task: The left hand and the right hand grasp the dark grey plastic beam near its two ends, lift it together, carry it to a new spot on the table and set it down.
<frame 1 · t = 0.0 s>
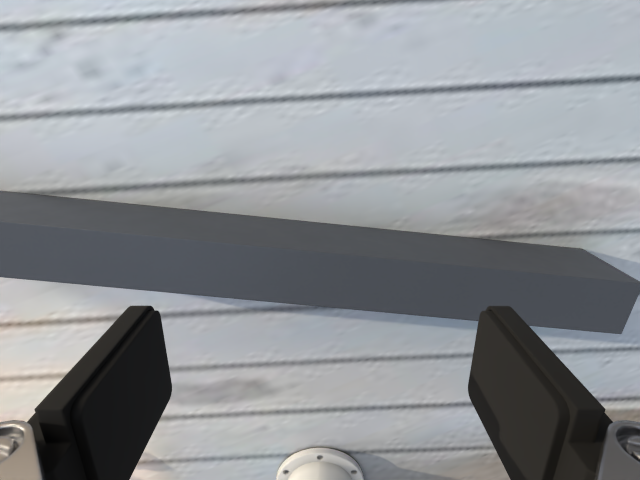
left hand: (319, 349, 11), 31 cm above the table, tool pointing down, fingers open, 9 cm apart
beam: (222, 236, 43), on the table
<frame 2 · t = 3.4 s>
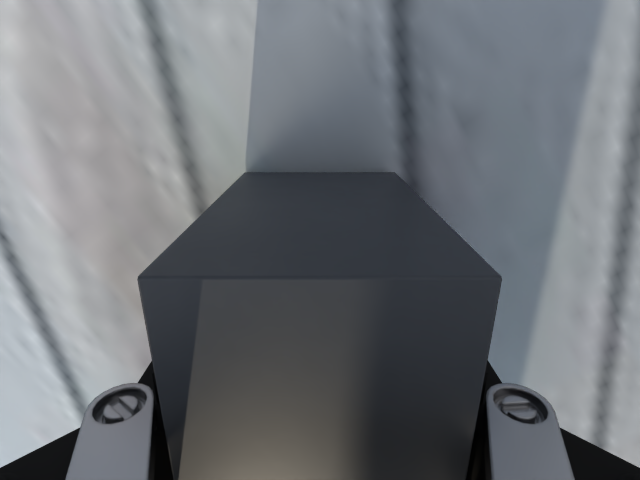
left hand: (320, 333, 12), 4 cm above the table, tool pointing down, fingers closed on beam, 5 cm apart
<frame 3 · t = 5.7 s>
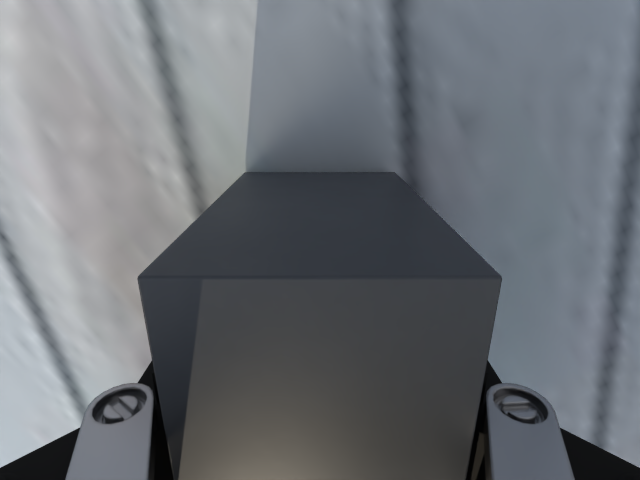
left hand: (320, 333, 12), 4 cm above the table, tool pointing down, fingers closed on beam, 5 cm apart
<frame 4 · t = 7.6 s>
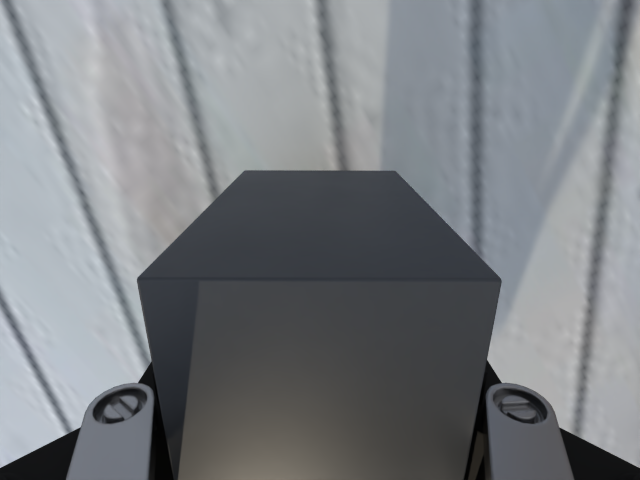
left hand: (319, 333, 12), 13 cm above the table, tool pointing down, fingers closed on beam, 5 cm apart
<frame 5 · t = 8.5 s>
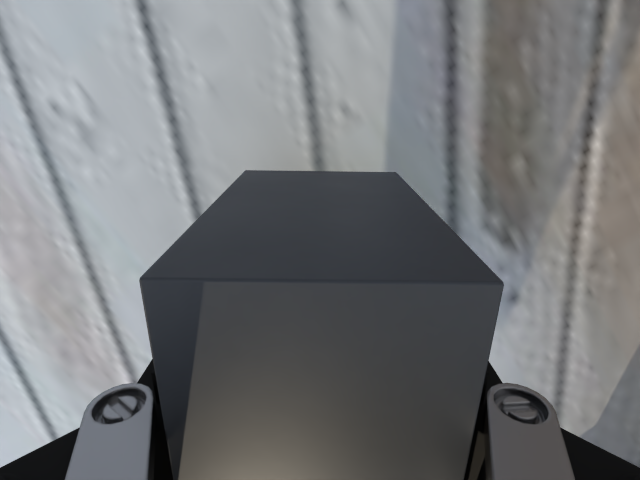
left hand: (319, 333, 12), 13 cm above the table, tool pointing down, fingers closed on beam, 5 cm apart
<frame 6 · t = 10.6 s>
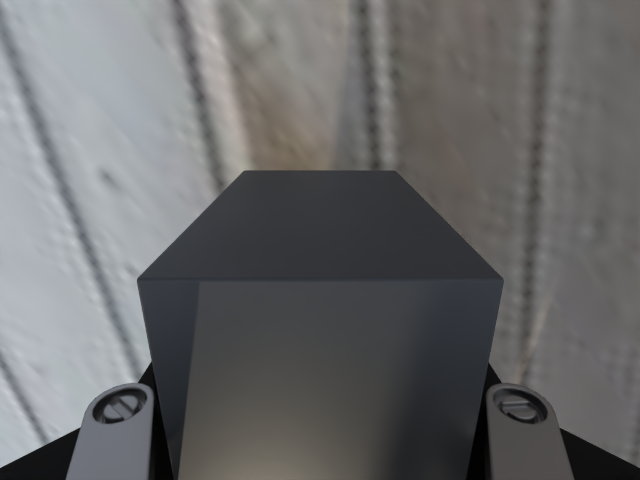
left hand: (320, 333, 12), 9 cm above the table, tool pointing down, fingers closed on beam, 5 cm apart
when the left hand's fingers open (4 cm above the table, at t = 11.7 s): beam stays where it is, on the table.
when the right hand's fingers open (4 cm above the table, at t = 11.8 s): beam stays where it is, on the table.
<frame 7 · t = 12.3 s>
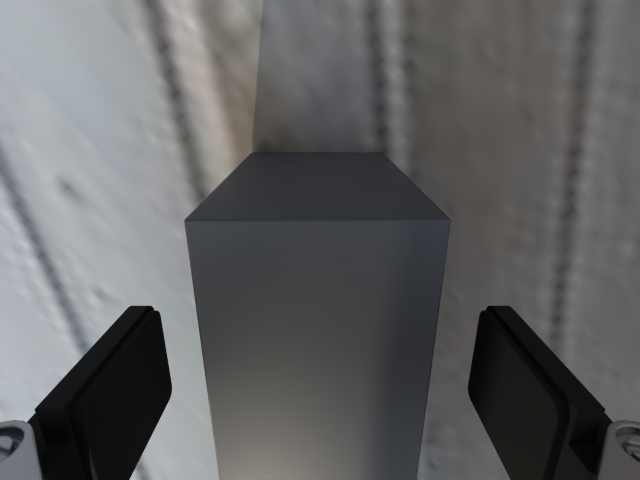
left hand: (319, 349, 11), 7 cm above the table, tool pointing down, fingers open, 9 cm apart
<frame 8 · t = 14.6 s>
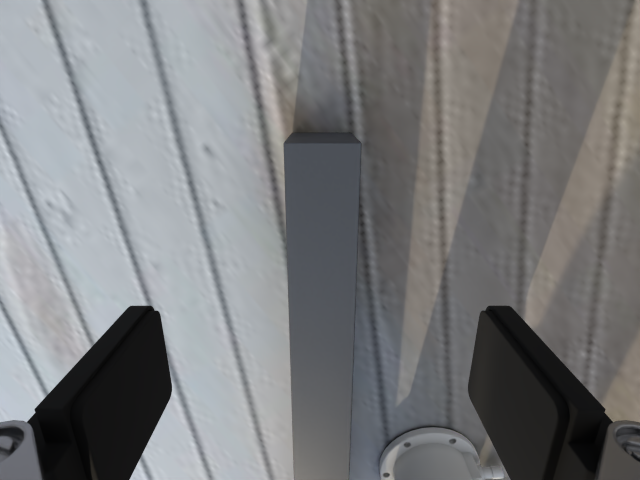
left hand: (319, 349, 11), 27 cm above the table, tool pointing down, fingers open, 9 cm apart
beam: (321, 460, 49), on the table
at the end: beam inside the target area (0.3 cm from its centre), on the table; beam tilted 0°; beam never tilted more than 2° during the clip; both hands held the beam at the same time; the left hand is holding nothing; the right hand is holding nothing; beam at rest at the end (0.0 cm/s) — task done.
